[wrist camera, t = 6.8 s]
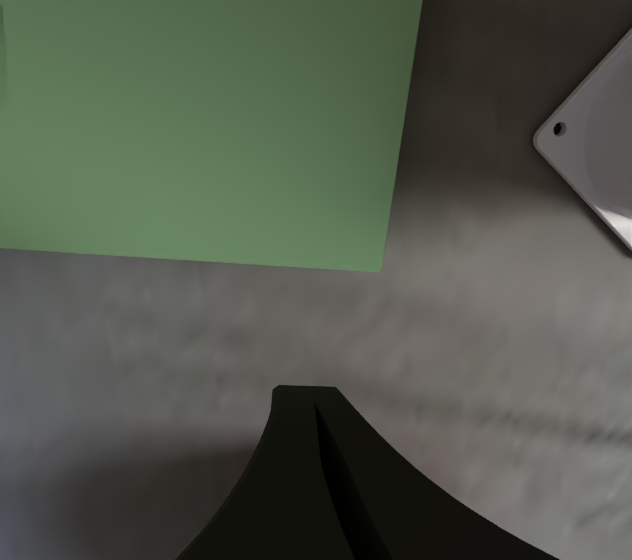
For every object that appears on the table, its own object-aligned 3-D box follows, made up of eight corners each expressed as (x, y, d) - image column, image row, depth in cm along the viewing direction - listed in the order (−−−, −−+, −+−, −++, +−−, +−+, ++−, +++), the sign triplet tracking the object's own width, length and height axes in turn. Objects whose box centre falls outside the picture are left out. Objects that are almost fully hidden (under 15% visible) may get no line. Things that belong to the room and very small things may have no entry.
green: (419, -96, 17) (440, -117, 16) (369, 256, 21) (380, 272, 19) (-466, -246, 14) (-576, -298, 12) (-333, 208, 18) (-401, 222, 16)
